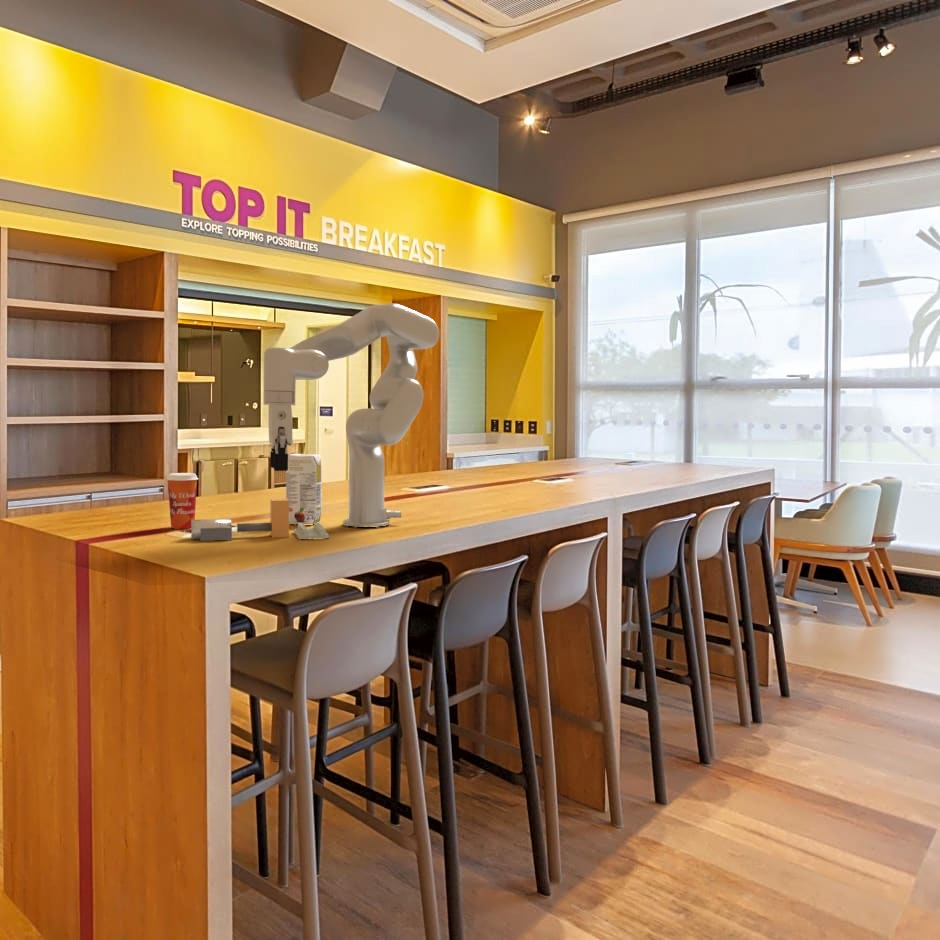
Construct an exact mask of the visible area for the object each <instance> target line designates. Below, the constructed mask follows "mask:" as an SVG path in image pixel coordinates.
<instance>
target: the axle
mask: <svg viewBox="0 0 940 940" xmlns="http://www.w3.org/2000/svg"><path fill="white" fill-rule="evenodd" d="M220 527H232V518H213V519H212V518H211V519H210V518H209V519H208V518H207V519H195V520H191V529H190V532H191V534H190V535H191V536H190V537H191V541H196V540H195V539H201V533H200V528H220Z"/></svg>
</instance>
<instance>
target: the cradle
mask: <svg viewBox="0 0 940 940" xmlns="http://www.w3.org/2000/svg"><path fill="white" fill-rule="evenodd" d="M306 526H307V525H304V524H303V523H298V525H297V528H294V529H293V534H294V535H295V534H296V535H297V536H296V535H295V536H296V537H297V539H298V540H299V539H309V538H329V539H330V534H329V533H327V531H326V529H325V528H324V526H323V525H321V524H320V522H319V523H314V525H313V528H312V527H311V528H308V527H306Z"/></svg>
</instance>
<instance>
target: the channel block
mask: <svg viewBox="0 0 940 940" xmlns="http://www.w3.org/2000/svg"><path fill="white" fill-rule="evenodd" d="M232 530H233V528H232V526H231V527H220V528H200V533H201V540H200V542H215V541H214V540H228V541H233V540H232V539H233V537H232V536H233V534H232V533H233V531H232Z"/></svg>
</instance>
